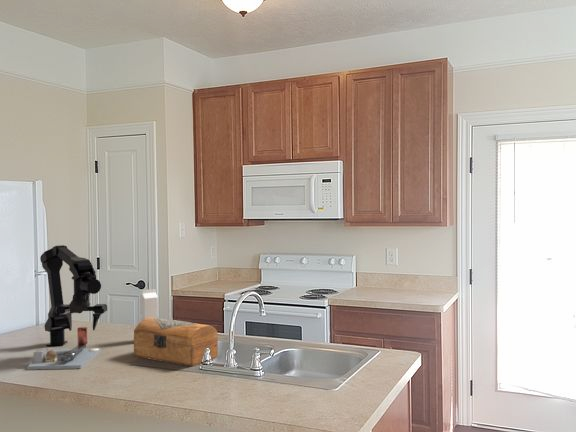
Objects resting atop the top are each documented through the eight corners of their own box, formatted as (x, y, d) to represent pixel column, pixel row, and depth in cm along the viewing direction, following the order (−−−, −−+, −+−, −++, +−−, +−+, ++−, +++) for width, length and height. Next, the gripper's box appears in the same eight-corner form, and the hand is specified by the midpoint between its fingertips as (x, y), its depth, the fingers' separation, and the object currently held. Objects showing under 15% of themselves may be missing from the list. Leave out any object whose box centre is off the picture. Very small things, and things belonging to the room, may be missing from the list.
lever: (57, 361, 202) (56, 340, 202) (77, 346, 224) (77, 326, 224) (70, 360, 202) (70, 339, 202) (89, 345, 224) (89, 326, 224)
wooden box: (131, 357, 216) (130, 321, 216) (162, 347, 230) (161, 314, 229) (189, 368, 200) (188, 330, 199) (218, 357, 214) (218, 321, 213)
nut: (48, 358, 209) (48, 349, 209) (57, 358, 209) (57, 349, 209) (44, 361, 205) (44, 351, 205) (54, 361, 205) (54, 351, 205)
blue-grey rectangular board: (52, 352, 224) (52, 339, 224) (101, 351, 225) (100, 338, 225) (27, 369, 200) (26, 355, 200) (81, 368, 201) (81, 354, 201)
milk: (140, 339, 243) (139, 289, 243) (154, 337, 246) (153, 288, 246) (145, 342, 238) (143, 291, 238) (159, 340, 241) (157, 289, 241)
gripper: (49, 295, 214) (50, 335, 214) (99, 294, 214) (99, 334, 215) (60, 290, 225) (61, 329, 225) (107, 289, 225) (108, 328, 226)
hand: (82, 330), depth 222 cm, fingers open, 9 cm apart
